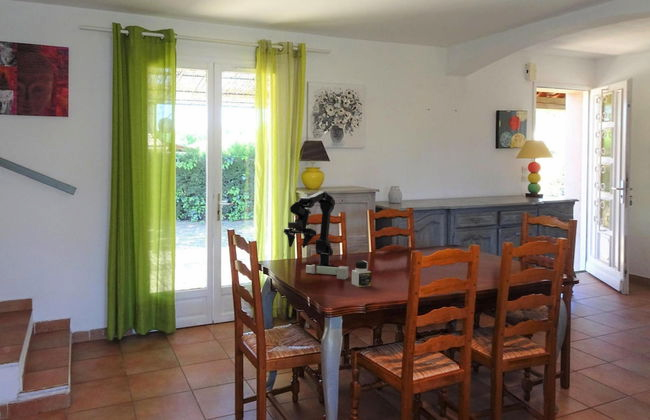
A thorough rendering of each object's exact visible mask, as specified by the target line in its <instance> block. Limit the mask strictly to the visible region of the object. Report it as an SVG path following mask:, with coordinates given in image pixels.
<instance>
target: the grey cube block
mask: <svg viewBox="0 0 650 420" xmlns="http://www.w3.org/2000/svg"><path fill="white" fill-rule="evenodd" d="M336 268H337V275H336V279H338V280H346V279H348V278H349V266H346V265H345V266H344V265H340V266H338V267H336Z"/></svg>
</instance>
